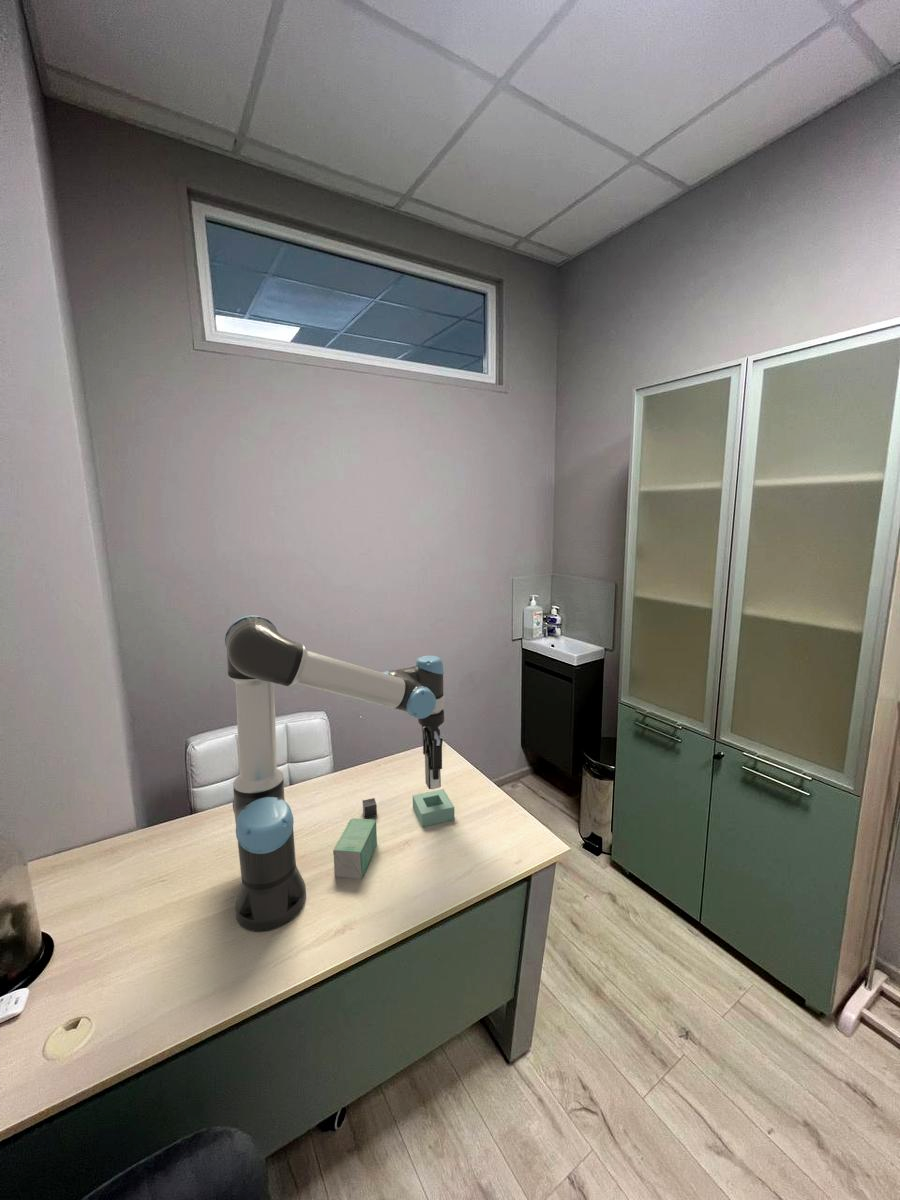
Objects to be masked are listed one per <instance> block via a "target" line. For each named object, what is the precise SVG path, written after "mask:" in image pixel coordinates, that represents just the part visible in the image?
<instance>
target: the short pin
mask: <svg viewBox="0 0 900 1200" xmlns="http://www.w3.org/2000/svg"><path fill="white" fill-rule="evenodd" d="M361 802H362V813H363V817H364V819H368V818H373V817H377V816H378V811H377V810H378V807H377V802H376V798H374V797H372V798H369V799H362V801H361Z"/></svg>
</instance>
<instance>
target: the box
mask: <svg viewBox="0 0 900 1200" xmlns="http://www.w3.org/2000/svg"><path fill="white" fill-rule="evenodd" d="M377 831H378V830H377V821H376V819H368V818H351V819H349V820H348V823H347V825H346V827H345V829H344V830H343V832H342V833H341V836H340V837H339V840H337V843H336V845H335V846H334V848H333V869H334V872H333V873H334V877H336V878H346V879H358V880H360V879H362V878H363V877H364V875H365V873H366V870H367V868H368V866H369V864H370V861H371V859H372V856H373V854H374V852H375V849H376V847H377V844H378V835H377Z"/></svg>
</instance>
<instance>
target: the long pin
mask: <svg viewBox="0 0 900 1200" xmlns="http://www.w3.org/2000/svg"><path fill="white" fill-rule="evenodd" d="M428 767H431V761H430V751H426V752H425V755H424V769H425V770H424V773H425V774H424V775H425V785H426V786H427V788H428V790H432V789H431V788H430V770H429V768H428ZM439 771H440V772H441V769H439ZM441 778H442V777H441V775H440V788H441V785H442V784H441Z"/></svg>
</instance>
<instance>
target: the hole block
mask: <svg viewBox="0 0 900 1200" xmlns="http://www.w3.org/2000/svg"><path fill="white" fill-rule="evenodd" d="M412 808H413V811H414V813H415V815H416V817H417V820H418V822H419V824H420V827H427V826H432V825H436V824H440V823H441V824H442V823H445V822H449V821H453V820H455V818H456V817H455V806H454V804H453V802H452V800H451V799H450V798H449V796H448V794H447V792H446V791H445V789H444V788H442V789H437V790H436V789H435V790H432V791H428V792H423V793H418V794H413V795H412Z"/></svg>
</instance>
